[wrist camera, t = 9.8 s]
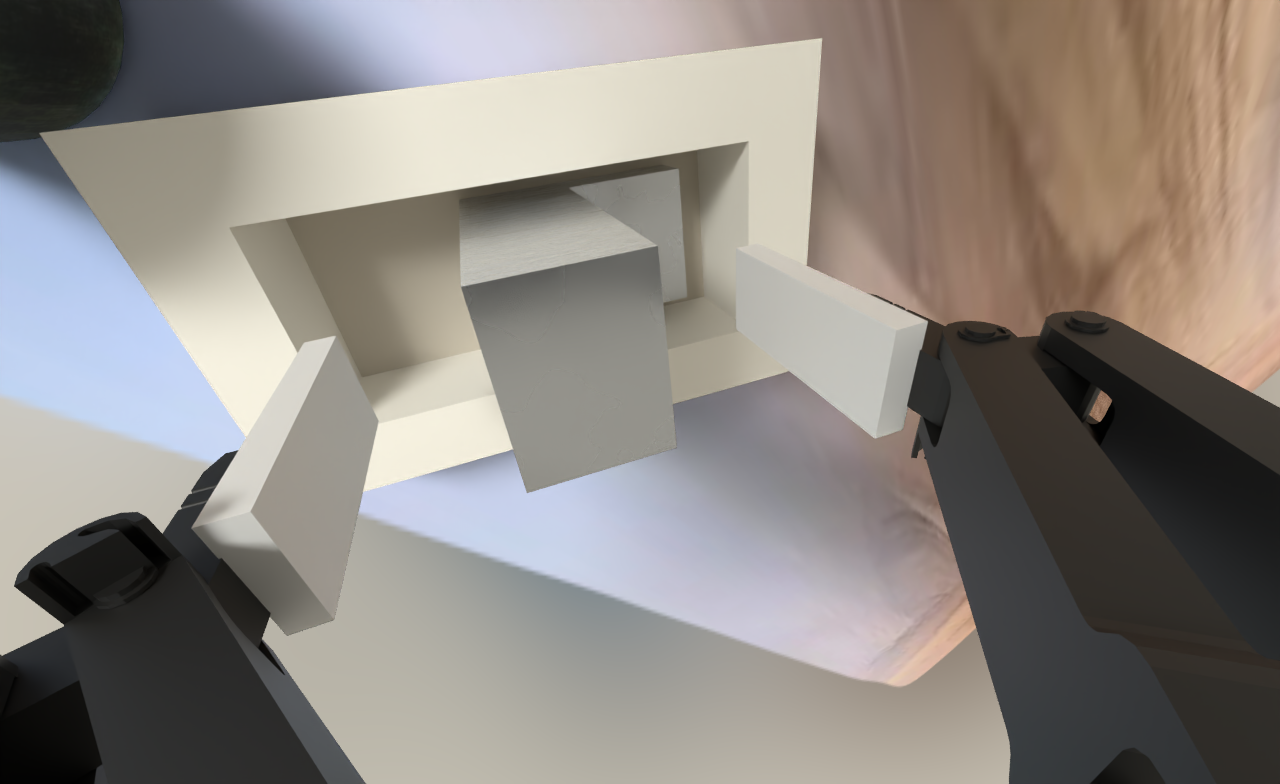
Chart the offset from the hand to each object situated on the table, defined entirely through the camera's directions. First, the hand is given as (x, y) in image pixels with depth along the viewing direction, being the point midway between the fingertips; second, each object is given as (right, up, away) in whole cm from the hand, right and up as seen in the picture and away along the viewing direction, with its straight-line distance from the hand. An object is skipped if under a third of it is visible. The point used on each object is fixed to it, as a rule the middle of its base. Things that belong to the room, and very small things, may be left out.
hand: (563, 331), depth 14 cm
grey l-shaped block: (-1, +5, +9) cm, 11 cm away
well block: (-3, +5, +10) cm, 11 cm away
